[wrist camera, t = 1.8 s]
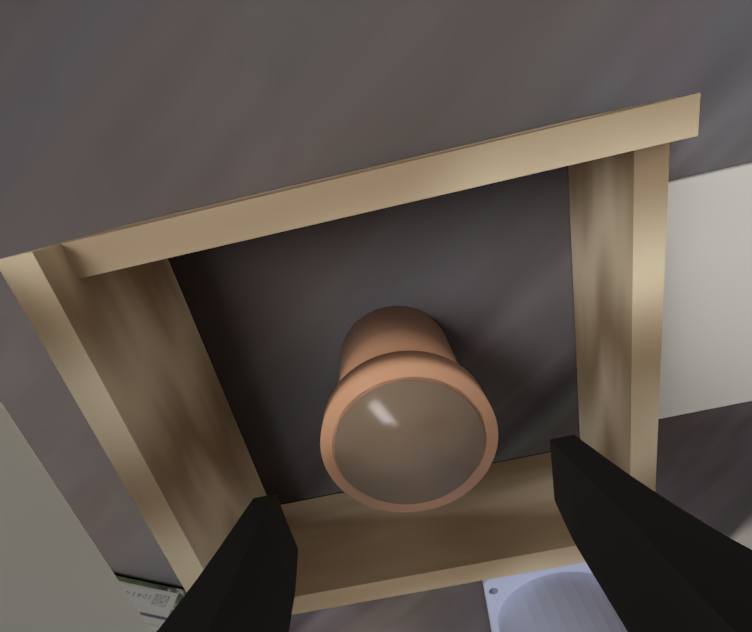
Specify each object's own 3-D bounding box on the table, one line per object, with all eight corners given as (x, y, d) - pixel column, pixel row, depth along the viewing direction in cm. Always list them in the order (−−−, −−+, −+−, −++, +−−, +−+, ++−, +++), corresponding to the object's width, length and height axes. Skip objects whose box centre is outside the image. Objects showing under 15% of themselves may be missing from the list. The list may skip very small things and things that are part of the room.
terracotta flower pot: (464, 395, 19) (507, 497, 13) (350, 418, 19) (344, 528, 13) (446, 285, 17) (488, 349, 11) (319, 313, 17) (297, 389, 11)
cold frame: (600, 458, 20) (690, 570, 15) (259, 524, 21) (221, 653, 16) (593, 114, 15) (735, 85, 9) (126, 224, 16) (-6, 260, 10)
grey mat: (811, 384, 19) (817, 387, 19) (620, 422, 20) (624, 425, 19) (860, 137, 15) (869, 137, 15) (620, 192, 16) (625, 192, 15)
